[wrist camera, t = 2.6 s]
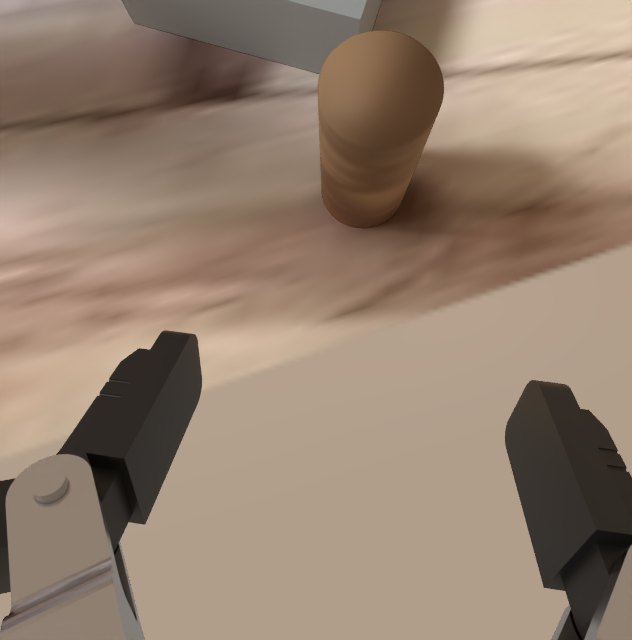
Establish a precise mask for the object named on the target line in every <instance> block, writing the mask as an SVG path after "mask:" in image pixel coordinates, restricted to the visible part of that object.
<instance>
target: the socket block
mask: <svg viewBox="0 0 632 640" xmlns="http://www.w3.org/2000/svg"><path fill="white" fill-rule="evenodd" d="M122 2H123V4H124V6H125V7H126V9H127V11H128V13H129V15H130V17H131V18H132V20H133V22H134V23H136V24H140V25H143V26H147V27H151V28H154V29H158V30H162V31H165V32H169V33H173V34H176V35H180V36H184V37H187V38H191V39H195V40H198V41H202V42H206V43H209V44H213V45H217V46H220V47H224V48H228V49H231V50H235V51H239V52H242V53H246V54H250V55H253V56H257V57H260V58H264V59H268V60H271V61H275V62H279V63H282V64H286V65H290V66H293V67H297V68H301V69H304V70H308V71H312V72H315V73H319V74H320V71H321V69H322V66H323V64H324V62H325V61H326V59H327V57H328V56H329V55H330V54H331V52H332V51H333V50H334V49H335V48H336V47H337V46H338V45H340V44H341V43H342V42H344V41H345V40H347V39H349V38H351V37H353V36H355V35H358V34H361V33H364V32H369V31H372V29H373V26H374V23H375V20H376V17H377V14H378V11H379V8H380V5H381V2H382V0H122Z"/></svg>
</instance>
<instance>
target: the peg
mask: <svg viewBox="0 0 632 640" xmlns="http://www.w3.org/2000/svg"><path fill="white" fill-rule="evenodd" d="M443 94H444V82H443V77H442V73H441V70H440V67H439V65H438V63H437V61H436V59H435V58H434V57H433V55H432V54H431V53H430V52H429V51H428V49H427V48H426V47H424V46H423V45H422V44H421V43H419V42H418V41H416V40H415V39H413V38H411V37H409V36H407V35H404V34H401V33H398V32H393V31H384V30H379V31H369V32H364V33H361V34H358V35H355V36H353V37H351V38H349V39H347V40H345V41H344V42H342V43H341V44H340V45H338V46H337V47H336V48H335V49H334V50H333V51H332V52H331V54H330V55H329V56H328V57H327V59H326V61H325V62H324V64H323V66H322V69H321V71H320V75H319V79H318V111H319V136H320V161H321V186H322V197H323V200H324V203H325V205H326V207H327V209H328V210H329V212H330V213H331V214H332V215H333V216H334V217H335V218H336V219H337V220H339V221H340V222H342V223H344V224H346V225H348V226H351V227H356V228H369V227H374V226H378V225H380V224H382V223H384V222H386V221H387V220H388V219H390V218H391V217H392V216H393V215H394V214H395V213H396V211H397V210H398V208H399V207H400V205H401V202H402V200H403V197H404V195H405V193H406V190H407V188H408V185H409V183H410V180H411V178H412V175H413V173H414V171H415V168H416V166H417V163H418V161H419V158H420V156H421V154H422V151H423V149H424V146H425V144H426V141H427V139H428V137H429V134H430V132H431V129H432V127H433V124H434V122H435V119H436V117H437V115H438V112H439V110H440V107H441V104H442V100H443Z"/></svg>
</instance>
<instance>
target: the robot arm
mask: <svg viewBox="0 0 632 640" xmlns="http://www.w3.org/2000/svg"><path fill="white" fill-rule="evenodd" d="M201 388H202V375H201V366H200V357H199V349H198V340H197V337H196V335H195V334H189V333H181V332H174V331H166V330H165V331H163V332H161V334H160V335H159V337H158V338H157V340H156V341H155V343H154V345H153V346H152V348H151V349H150V350H148V349H140V348H139V349H137V350H136V351H135V352H133V353H132V354H131V355H129V356H128V357H127V358H125V359H124V360H122V361H121V362H120V364H119V365H118V366H117V368H116V369H115V371H114V372H113V374H112V375H111V377H110V378H109V382H107V383H106V384H105V385H104V387H103V388H102V390H101V391H100V395H99V396H97V397H96V399H95V400H94V401H93V403H92V404H91V406H90V407H89V409H88V410H87V412H86V413H85V415H84V416H83V418H82V419H81V420H80V422H79V423H78V425H77V426H76V428H75V429H74V431H73V432H72V434H71V435H70V437H69V438H68V439H67V441H66V442H65V444H64V445H63V447H62V448H61V449H60V451H59V452H58V453H57V454H56V455H55V456H50V457H47V458H44V459H42V460H39V461H37V462H36V463H34V464H32V465H31V466H29V467H28V468H26V469H25V470H24V471H23V472H21V473H20V474H19V475H18V477H17V478H15V479H10V480H4V481H0V594H2V593H7V592H11V611H10V614H9V615H8V616H6V617H5V618H4V619H3V621H2V624H1V629H0V640H145V638H144V634H143V631H142V628H141V624H140V620H139V616H138V612H137V608H136V604H135V600H134V596H133V592H132V588H131V584H130V580H129V576H128V572H127V568H126V564H125V559H124V556H123V552H122V547H121V543H120V539H121V537H122V534H123V533H124V530H125V528H126V526H127V524H128V522H132V523H138V524H146V521H147V519H148V516H149V514H150V512H151V510H152V507H153V505H154V503H155V500H156V498H157V496H158V494H159V491H160V489H161V486H162V484H163V482H164V480H165V478H166V475H167V473H168V471H169V468H170V466H171V463H172V461H173V459H174V457H175V454H176V452H177V450H178V448H179V445H180V443H181V441H182V438H183V436H184V434H185V431H186V429H187V427H188V425H189V422H190V420H191V417H192V415H193V413H194V411H195V408H196V406H197V404H198V401H199V398H200V394H201ZM505 444H506V449H507V453H508V456H509V460H510V464H511V468H512V471H513V475H514V479H515V483H516V486H517V490H518V494H519V497H520V501H521V505H522V508H523V512H524V516H525V519H526V523H527V527H528V531H529V534H530V538H531V542H532V545H533V549H534V553H535V556H536V560H537V564H538V567H539V571H540V575H541V578H542V582H543V586H544V588H550V589H556V590H563V591H566V594H567V598H568V601H569V604H570V605H569V606H568V607H567V608H566V609H565V611H564V612H563V614H562V617H561V619H560V621H559V624H558V626H557V628H556V630H555V632H554V635H553V637H552V639H551V640H632V477H631V475H630V474H629V472H627V471H626V465H625V463H624V462H623V459H622V458H621V456H620V454H618V453H617V451H618V450H617V448H616V446H615V444H614V442H613V440H612V438H611V436H610V434H609V432H608V430H607V429H606V428H605V427H604V425H603V424H602V423H601V422H600V421H599V420H598V419H597V418H596V417H595V416H594V415H593V414H592V413H591V412H590V411H589V410H584V409H580V407H579V405H578V404H577V401H576V399H575V397H574V395H573V393H572V391H571V389H570V388H569V386H567V385H565V384H558V383H551V382H543V381H536V380H532V381H530V382H529V383H528V384H527V385H526V387H525V389H524V391H523V393H522V395H521V397H520V399H519V401H518V403H517V405H516V407H515V409H514V411H513V412H512V414H511V416H510V418H509V420H508V423H507V426H506V431H505Z"/></svg>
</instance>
